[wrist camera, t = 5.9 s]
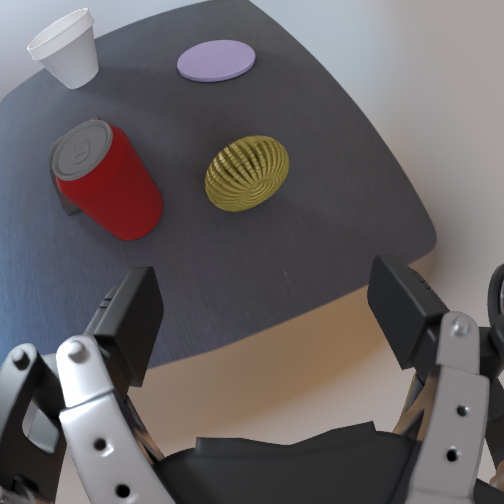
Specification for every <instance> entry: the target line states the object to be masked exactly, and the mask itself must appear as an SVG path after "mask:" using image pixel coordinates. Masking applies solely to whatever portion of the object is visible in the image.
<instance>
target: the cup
mask: <svg viewBox="0 0 504 504" xmlns="http://www.w3.org/2000/svg"><path fill="white" fill-rule="evenodd" d="M93 21H94V20H93V18H92V16H91V14H90V12H89V9H88V8H82V9H79V10H76V11H74V12H72V13H70V14H68V15H66V16H64V17H62V18H60V19H59V20H57V21H56V22H54V23H53V24H51V25H50V26H48V27H47V28H46V29H44V30H43V31H42V32H41V33H40V34H38V35H37V36H36V37H35V38H34V39H33V40H32V41H31V42H30V44H29V45H28V47H27V50H28V51H29V52H30V54H31V56H32V58H33V60H34V61H37V62H39V63H40V64H41V65H42V66H43V67H45V68H46V69H47V70H48V71H49V72H50V73H52V74H53V75H54V76H55V77H56V78H58V79H59V80H60V81H61V82H62V83H63V84H65V85H66V86H67V87H68V88H69V89H76V88H79V87H81V86H83V85H85V84H86V83H88V82H89V81H90V80H91V79H93V78H94V77H95V75H96V74H97V73H98V71H99V67H98V61H97V55H96V49H95V42H94V35H93V27H92V24H93Z"/></svg>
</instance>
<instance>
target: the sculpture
mask: <svg viewBox="0 0 504 504" xmlns="http://www.w3.org/2000/svg"><path fill="white" fill-rule="evenodd" d="M229 148H230V149H229ZM229 148H228V147H227V146H226V147H225V148H224V150H222V151H220V152H219V154H218V155H216V156H215V158H214V159H213V160H212V162H211V164H210V165H209V167H208V169H207V172H206V176H205V189H206V193H207V195H208V197H209V199H210V200H211V202H213V204H214V205H216V206H217V207H219V208H220V209H223V210H226V211H232V212H234V211H243V210H246V209H249V208H251V207H254V206H256V205H258V204H260V202H261V203H262V202H263V201H264V199H265V200H266V199H268V197H270V196H272V194H274V193H275V192H276V191H277V190H278V189H279V187H280V186H281V185H282V184H283V182H284V180H285V178H286V176H287V174H288V170H289V158H288V154H287V152H286V151H285V149H284V147H283V146H282V145H281V144H280V143H279V142H277V141H276V140H274V139H273V138H270V137H266V136H258V135H255V136H248V137H244V138H241V139H240V140H236V141H235V142H234V143H231V144H229ZM268 152H269V153H268ZM278 160H279V161H278ZM259 166H260V167H259ZM252 167H253V168H255V170H254V169H253V168H252ZM240 173H241V174H240ZM241 175H242V176H243V178H244V179H243V178H242V177H241ZM238 181H239V182H240V183H238ZM223 187H224V188H223ZM217 190H218V191H217Z"/></svg>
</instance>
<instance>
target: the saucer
mask: <svg viewBox="0 0 504 504" xmlns="http://www.w3.org/2000/svg"><path fill="white" fill-rule="evenodd" d="M254 63H255V52H254V50H253V49H252V48H251V47H250V46H248V45H247V44H244V43H242V42H238V41H232V40H216V41H210V42H205V43H202V44H199V45H196V46H194V47H192V48H190V49H189V50H187V51H186V52H185V53H183V54H182V55H181V57H180V58H179V60H178V63H177V67H178V71H179V73H180V74H181V75H182V76H183V77H185V78H187V79H190V80H193V81H200V82H214V81H221V80H226V79H230V78H233V77H236V76H239V75H241V74H243V73H245V72H246V71H248V70H249V69H250V68H251V67H252V66H253V64H254Z"/></svg>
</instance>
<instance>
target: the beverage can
mask: <svg viewBox="0 0 504 504" xmlns="http://www.w3.org/2000/svg"><path fill="white" fill-rule="evenodd" d="M52 167H53V171H54V173H55V175H56V180H57V185H58V187H59V189H60V191H61V192H62V193H63V194H64V195H65V196H66V197H67V198H68V199H70V200H71V201H72V202H73V203H74V204H75V205H76V206H78V207H79V208H80V209H81V210H82V211H83V212H85V213H86V214H87V215H88V216H89V217H91V218H92V219H93V220H94V221H96V222H97V223H98V224H99V225H101V226H102V227H103V228H105V229H106V230H107V231H109V232H110V233H111V234H113V235H114V236H115V237H117V238H119V239H122V240H135V239H138V238H141V237H143V236H144V235H146V234H147V233H149V232H150V231H151V230H152V229H153V228H154V227H155V225H156V224H157V222H158V221H159V219H160V217H161V214H162V210H163V200H162V196H161V193H160V192H159V190H158V188H157V187H156V185H155V183H154V181H153V180H152V178H151V176H150V175H149V173H148V171H147V170H146V168H145V166H144V165H143V163H142V162H141V160H140V158H139V157H138V155H137V153H136V152H135V150H134V148H133V147H132V145H131V143H130V142H129V140H128V138H127V137H126V135H125V134H124V132H123V131H122V130H120V129H119V128H117V127H115V126H112V125H109V124H108V123H106V122H105V121H103V120H91V121H87V122H85V123H83V124H81V125H79V126H77V127H76V128H74V129H73V130H72V131H71V132H69V133H68V134H67V135H66V136H65V138H64V139H63V140H62V141H61V143H60V144H59V146H58V147H57V149H56V151H55V154H54V157H53V162H52Z"/></svg>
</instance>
